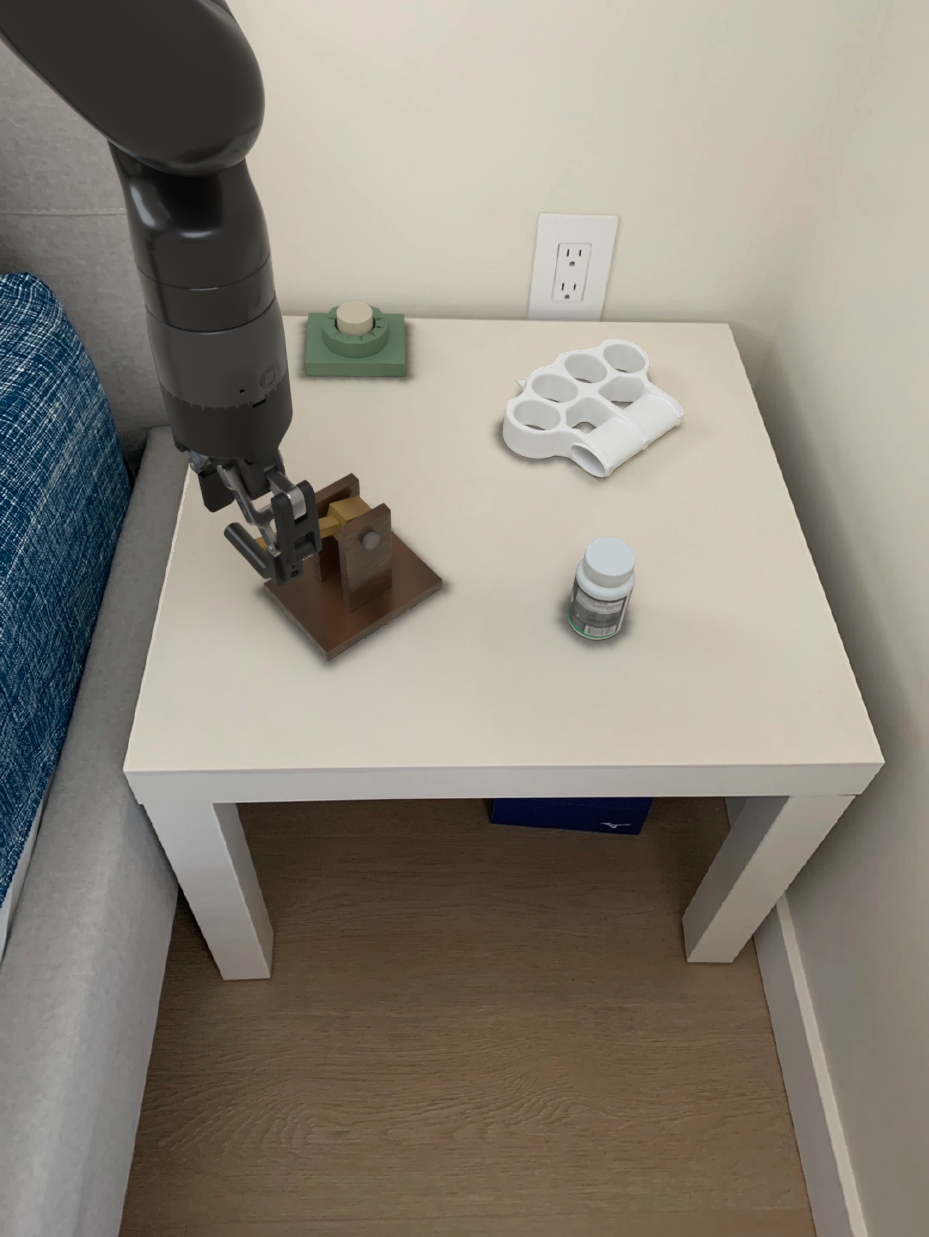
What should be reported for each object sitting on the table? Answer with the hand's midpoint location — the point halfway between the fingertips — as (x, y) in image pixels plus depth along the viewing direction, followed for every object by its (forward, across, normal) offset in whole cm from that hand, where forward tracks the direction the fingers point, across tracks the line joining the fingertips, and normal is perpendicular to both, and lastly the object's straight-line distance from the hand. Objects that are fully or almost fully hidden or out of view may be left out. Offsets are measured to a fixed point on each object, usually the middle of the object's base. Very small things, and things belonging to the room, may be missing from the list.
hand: (253, 540), depth 70 cm
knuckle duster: (+12, -3, +39) cm, 41 cm away
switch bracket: (+12, 0, +8) cm, 15 cm away
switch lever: (+3, 0, +4) cm, 5 cm away
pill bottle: (+12, +15, +22) cm, 30 cm away
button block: (+12, -25, +27) cm, 39 cm away
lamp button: (+9, -25, +27) cm, 38 cm away
